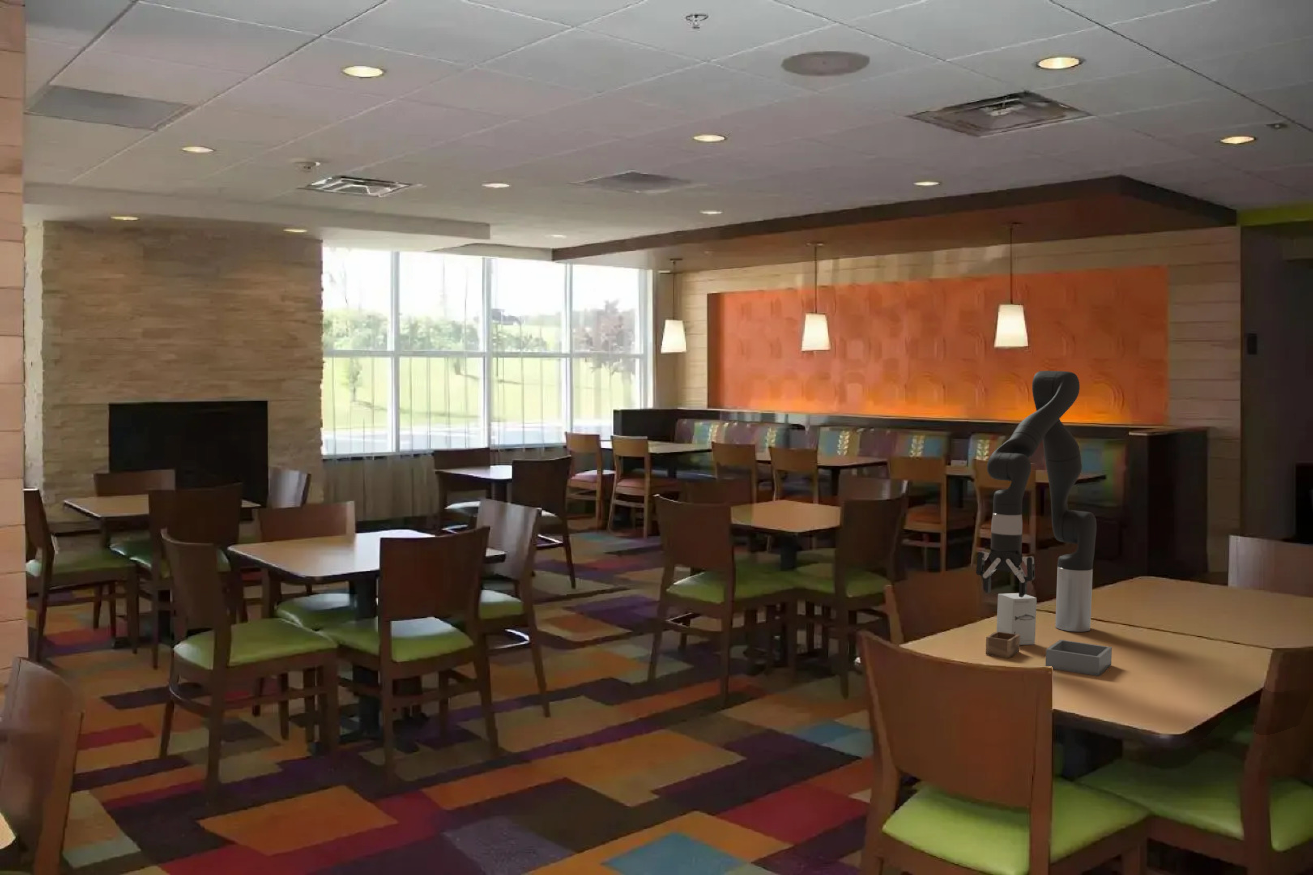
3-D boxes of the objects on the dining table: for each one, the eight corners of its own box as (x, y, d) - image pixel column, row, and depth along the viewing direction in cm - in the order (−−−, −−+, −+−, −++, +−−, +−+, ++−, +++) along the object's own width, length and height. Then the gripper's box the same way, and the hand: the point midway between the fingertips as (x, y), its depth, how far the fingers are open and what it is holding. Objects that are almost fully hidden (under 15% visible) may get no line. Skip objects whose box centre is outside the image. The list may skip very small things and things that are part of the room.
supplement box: (1011, 646, 292) (1012, 598, 291) (995, 639, 299) (997, 593, 298) (1035, 644, 294) (1037, 597, 293) (1019, 638, 301) (1021, 592, 300)
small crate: (995, 648, 289) (996, 631, 289) (1019, 652, 286) (1019, 634, 285) (985, 654, 283) (986, 637, 282) (1009, 658, 279) (1009, 640, 279)
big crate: (1059, 657, 281) (1060, 639, 281) (1111, 665, 274) (1111, 647, 274) (1045, 667, 271) (1046, 649, 271) (1098, 676, 264) (1099, 657, 263)
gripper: (1039, 532, 281) (1037, 596, 282) (983, 527, 289) (981, 588, 290) (1030, 535, 275) (1028, 600, 276) (974, 530, 283) (972, 593, 284)
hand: (1004, 594), depth 283 cm, fingers open, 8 cm apart
